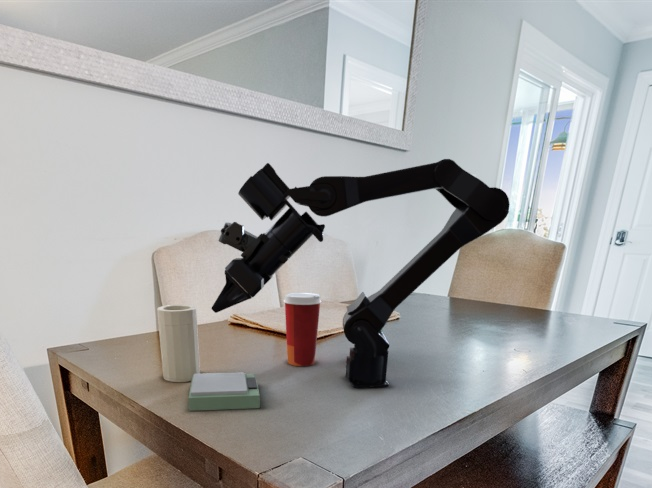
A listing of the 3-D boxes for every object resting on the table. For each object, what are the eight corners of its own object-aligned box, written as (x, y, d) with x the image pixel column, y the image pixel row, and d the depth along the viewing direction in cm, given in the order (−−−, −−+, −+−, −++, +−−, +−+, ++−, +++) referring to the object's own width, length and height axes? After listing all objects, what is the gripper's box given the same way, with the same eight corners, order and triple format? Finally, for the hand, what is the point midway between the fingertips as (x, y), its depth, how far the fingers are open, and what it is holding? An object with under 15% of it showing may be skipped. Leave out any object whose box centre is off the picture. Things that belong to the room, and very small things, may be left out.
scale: (255, 385, 83) (254, 370, 82) (259, 408, 73) (259, 391, 72) (193, 387, 82) (192, 372, 81) (189, 410, 72) (188, 394, 70)
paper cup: (325, 361, 98) (328, 294, 93) (308, 370, 92) (310, 298, 87) (294, 355, 102) (295, 290, 97) (275, 363, 96) (275, 295, 90)
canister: (200, 370, 91) (196, 304, 86) (199, 381, 85) (194, 310, 80) (165, 371, 90) (159, 304, 86) (161, 382, 84) (154, 311, 79)
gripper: (255, 206, 84) (198, 267, 89) (237, 202, 67) (169, 278, 72) (296, 252, 86) (240, 309, 91) (290, 259, 69) (220, 329, 74)
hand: (219, 306), depth 82 cm, fingers open, 9 cm apart
